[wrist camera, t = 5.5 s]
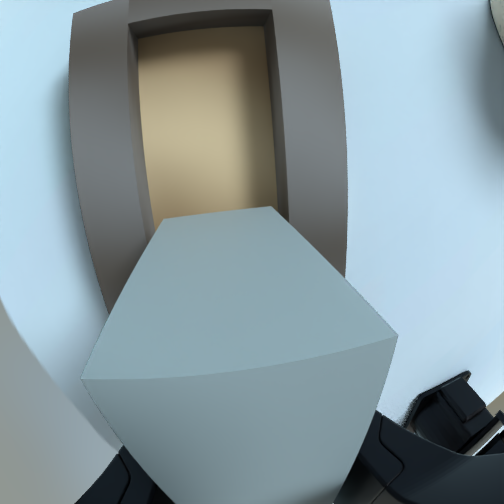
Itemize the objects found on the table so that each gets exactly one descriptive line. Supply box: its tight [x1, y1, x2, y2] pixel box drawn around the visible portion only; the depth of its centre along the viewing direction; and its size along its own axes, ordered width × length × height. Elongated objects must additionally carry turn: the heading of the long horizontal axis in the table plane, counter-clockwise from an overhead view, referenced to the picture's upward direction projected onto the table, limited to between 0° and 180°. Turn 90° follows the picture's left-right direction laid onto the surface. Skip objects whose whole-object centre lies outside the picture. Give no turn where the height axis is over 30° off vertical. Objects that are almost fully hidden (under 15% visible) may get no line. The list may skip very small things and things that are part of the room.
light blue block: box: [80, 206, 398, 504], centre depth 7 cm, size 9×3×6 cm, turn 4°
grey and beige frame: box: [69, 0, 348, 315], centre depth 10 cm, size 20×9×2 cm, turn 4°
